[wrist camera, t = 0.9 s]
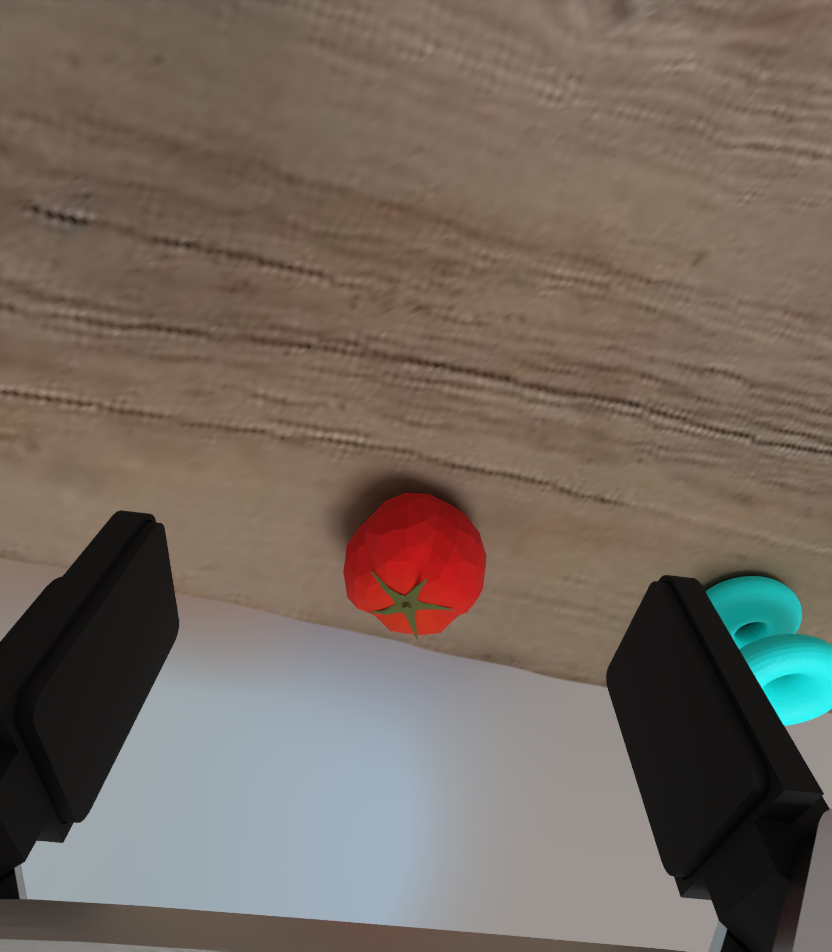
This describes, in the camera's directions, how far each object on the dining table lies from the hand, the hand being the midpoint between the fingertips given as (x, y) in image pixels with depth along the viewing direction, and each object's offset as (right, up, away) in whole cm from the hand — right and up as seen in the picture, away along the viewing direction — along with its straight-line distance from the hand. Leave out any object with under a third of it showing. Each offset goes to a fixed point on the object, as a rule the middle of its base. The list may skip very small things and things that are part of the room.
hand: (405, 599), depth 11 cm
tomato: (0, -2, +39) cm, 39 cm away
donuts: (+32, -10, +43) cm, 54 cm away
